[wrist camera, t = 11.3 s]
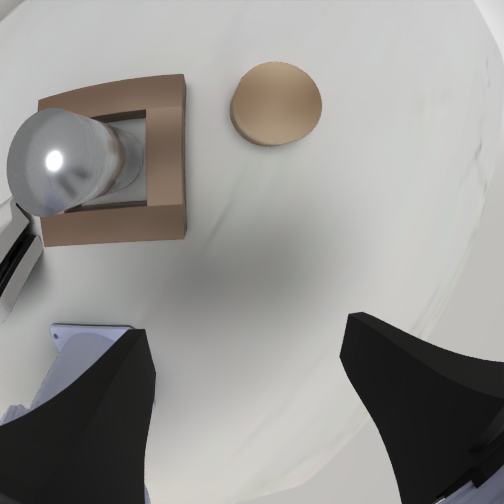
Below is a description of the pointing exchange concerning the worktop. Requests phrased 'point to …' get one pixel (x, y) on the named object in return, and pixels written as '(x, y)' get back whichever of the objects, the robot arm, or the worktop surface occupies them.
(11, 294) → the hinge
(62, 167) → the tall pin
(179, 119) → the socket block
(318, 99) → the oak stub
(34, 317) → the worktop surface
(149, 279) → the worktop surface
